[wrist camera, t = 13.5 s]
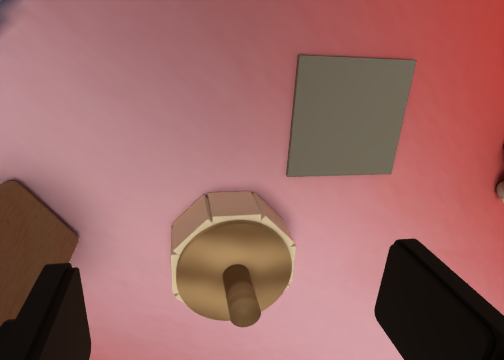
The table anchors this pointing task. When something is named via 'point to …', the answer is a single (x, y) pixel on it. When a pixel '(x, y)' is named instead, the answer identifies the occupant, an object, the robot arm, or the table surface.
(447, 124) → the table surface
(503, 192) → the hippopotamus figurine
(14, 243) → the wooden block
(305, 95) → the mat
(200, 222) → the bowl
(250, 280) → the lid
